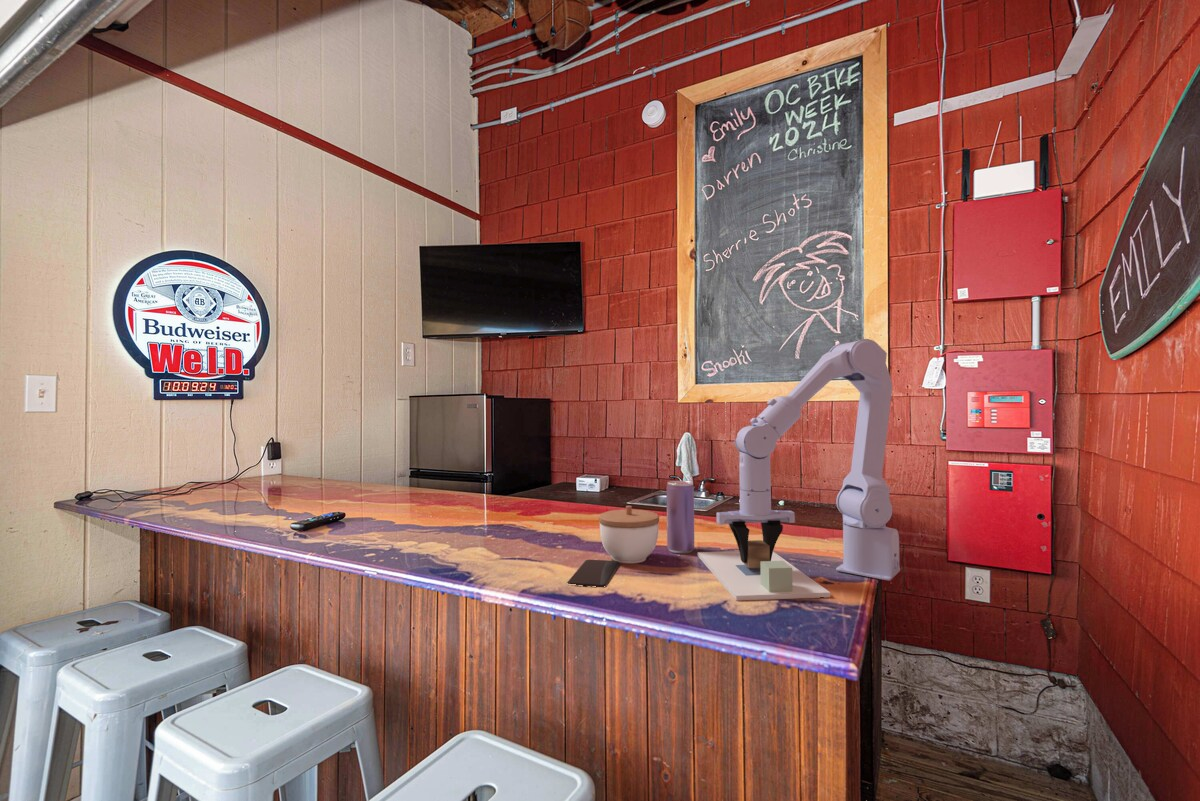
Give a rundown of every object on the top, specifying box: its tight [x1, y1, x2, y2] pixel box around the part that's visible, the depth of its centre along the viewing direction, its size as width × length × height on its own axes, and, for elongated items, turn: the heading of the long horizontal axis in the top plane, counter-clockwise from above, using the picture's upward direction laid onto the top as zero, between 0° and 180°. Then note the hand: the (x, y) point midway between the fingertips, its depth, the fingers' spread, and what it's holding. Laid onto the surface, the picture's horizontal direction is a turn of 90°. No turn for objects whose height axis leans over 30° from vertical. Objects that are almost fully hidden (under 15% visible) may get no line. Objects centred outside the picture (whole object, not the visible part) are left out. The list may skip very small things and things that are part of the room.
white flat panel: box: [697, 550, 831, 601], centre depth 104 cm, size 16×26×1 cm, turn 4°
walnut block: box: [742, 539, 770, 568], centre depth 104 cm, size 4×4×4 cm
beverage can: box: [666, 480, 695, 555], centre depth 121 cm, size 6×6×15 cm
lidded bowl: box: [598, 505, 660, 565], centre depth 115 cm, size 13×13×11 cm
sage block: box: [760, 561, 792, 592], centre depth 94 cm, size 4×4×4 cm
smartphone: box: [566, 559, 621, 588], centre depth 105 cm, size 7×1×15 cm
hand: (755, 560), depth 104 cm, fingers closed on walnut block, 4 cm apart
